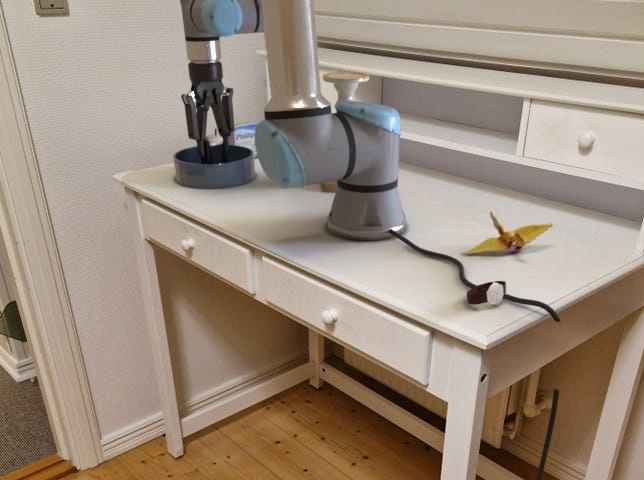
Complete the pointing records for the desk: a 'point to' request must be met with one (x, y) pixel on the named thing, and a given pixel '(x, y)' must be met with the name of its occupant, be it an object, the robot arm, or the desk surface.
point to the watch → (487, 293)
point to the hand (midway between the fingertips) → (215, 166)
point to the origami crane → (510, 237)
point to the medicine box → (244, 136)
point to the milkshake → (215, 148)
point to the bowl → (214, 168)
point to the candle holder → (343, 98)
